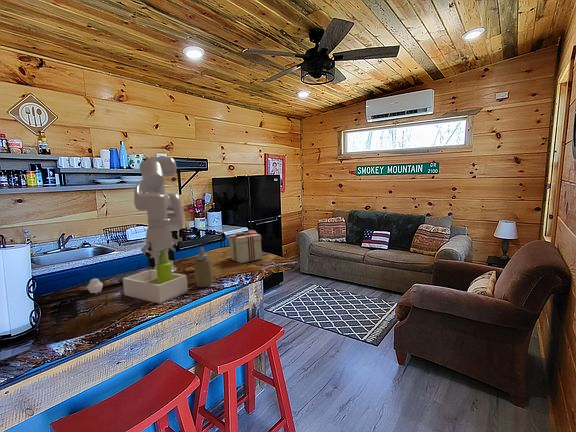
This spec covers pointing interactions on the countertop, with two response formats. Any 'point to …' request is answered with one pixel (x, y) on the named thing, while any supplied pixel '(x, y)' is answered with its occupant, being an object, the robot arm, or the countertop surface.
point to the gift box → (245, 246)
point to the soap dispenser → (163, 268)
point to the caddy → (154, 286)
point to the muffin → (95, 286)
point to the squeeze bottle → (203, 270)
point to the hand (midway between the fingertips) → (162, 263)
